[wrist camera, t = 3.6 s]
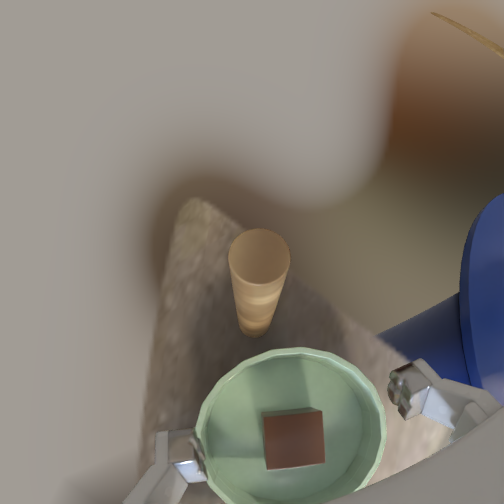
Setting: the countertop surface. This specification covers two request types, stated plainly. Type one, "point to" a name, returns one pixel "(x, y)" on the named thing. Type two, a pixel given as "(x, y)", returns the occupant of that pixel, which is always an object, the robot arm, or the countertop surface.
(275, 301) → the wooden cylinder
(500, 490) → the robot arm
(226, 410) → the bowl
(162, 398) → the countertop surface
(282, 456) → the block
